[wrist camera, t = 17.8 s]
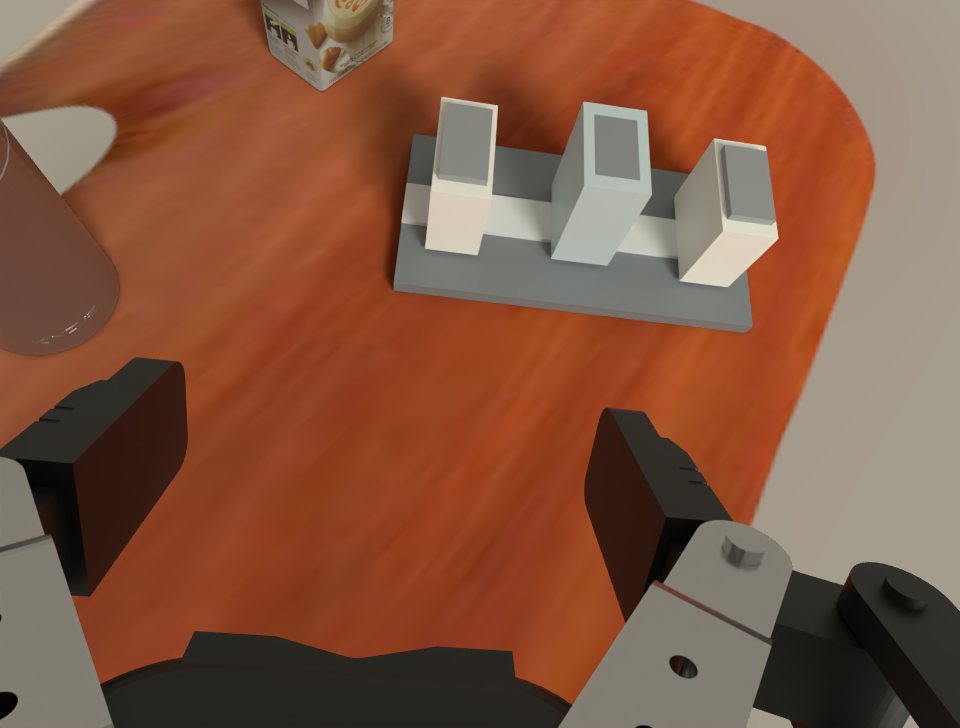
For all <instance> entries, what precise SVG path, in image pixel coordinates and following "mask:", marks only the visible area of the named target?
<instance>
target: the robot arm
mask: <svg viewBox="0 0 960 728" xmlns="http://www.w3.org/2000/svg"><path fill="white" fill-rule="evenodd" d="M119 287H120V286H119V279H118V274H117V272H116V269H115V267H114V265H113V263H112V262H111V261H110V259H109V258H108V257H107V255H106V254H105V253H104V252H103V250H102V249H101V248H100V246H99V245H98V244H97V242H96V241H95V240H94V239H93V237H92V236H91V235H90V233H89V232H88V231H87V229H86V228H85V227H84V225H83V224H82V223H81V221H80V220H79V219H78V218H77V216H76V215H75V214H74V213H73V211H72V210H71V209H70V207H69V206H68V205H67V204H66V202H65V201H64V200H63V198H62V197H61V196H60V195H59V193H58V192H57V191H56V190H55V188H54V187H53V186H52V184H51V183H50V182H49V181H48V180H47V178H46V177H45V176H44V174H43V173H42V172H41V170H40V169H39V168H38V167H37V165H36V164H35V163H34V162H33V160H32V159H31V158H30V156H29V155H28V154H27V153H26V152H25V150H24V149H23V147H22V146H21V145H20V144H19V142H18V141H17V140H16V139H15V137H14V136H13V135H12V134H11V132H10V131H9V130H8V128H7V127H6V126H5V125H4V123H3V122H2V121H1V119H0V348H2V349H4V350H5V351H8V352H12V353H16V354H20V355H33V356H39V355H47V354H54V353H58V352H61V351H64V350H68V349H70V348H72V347H74V346H76V345H78V344H80V343H83V342H84V341H85V340H87V339H88V338H90V337H91V336H92V335H94V334H95V333H96V332H97V331H98V330H99V329H100V328H101V327H102V326H103V325H104V324H105V323H106V322H107V320H108V319H109V317H110V316H111V314H112V312H113V311H114V308H115V306H116V303H117V300H118V295H119ZM187 441H188V432H187V410H186V388H185V373H184V368H183V366H182V364H181V363H180V362H176V361H166V360H157V359H147V358H138V357H136V358H134V359H132V360H131V361H130V362H129V363H127V364H126V365H125V366H124V367H123V368H122V369H120V370H119V371H118V372H117V373H116V374H115V375H113V376H112V377H111V378H110V379H109V380H99V381H97V382H94V383H92V384H90V385H87V386H85V387H82V388H80V389H77V390H75V391H73V392H71V393H70V394H69V395H68V396H66V397H65V398H64V399H63V400H61V401H60V402H59V403H58V404H56V405H55V408H54V409H50V410H49V411H48V412H46V413H45V414H44V415H43V416H41V417H40V418H39V422H37V421H35V422H34V423H33V424H31V425H30V426H29V427H28V428H26V429H25V430H24V431H23V432H21V433H20V434H19V435H18V436H16V437H15V438H14V439H13V440H11V441H10V442H9V443H8V444H6V445H5V446H4V447H3V448H1V449H0V728H746V725H747V722H748V718H749V716H750V712H751V709H752V707H754V708H756V709H759V710H762V711H766V712H768V713H771V714H774V715H777V716H780V717H783V718H786V719H789V720H790V721H791V724H792V726H793V728H903V726H904V724H905V722H906V721H907V719H908V717H909V715H911V716H912V718H913V719H914V721H915V722H916V723H917V725H918V726H919V728H960V611H959V610H958V609H957V608H956V607H955V606H954V604H953V603H952V602H951V601H950V600H949V599H948V598H947V597H946V596H945V595H943V594H942V593H941V592H940V591H939V590H937V589H936V588H935V587H933V586H932V585H930V584H929V583H927V582H926V581H924V580H922V579H921V578H919V577H917V576H915V575H913V574H911V573H909V572H906V571H904V570H902V569H899V568H896V567H893V566H889V565H886V564H881V563H874V562H866V563H860V564H857V565H855V566H854V567H853V568H852V570H851V571H850V573H849V576H848V578H847V580H846V582H845V584H844V585H840V584H837V583H833V582H829V581H826V580H823V579H820V578H816V577H813V576H809V575H806V574H802V573H800V572H796V571H793V570H792V562H791V559H790V557H789V555H788V554H787V553H786V551H785V550H784V549H783V548H782V547H781V546H780V545H779V544H778V543H777V542H776V541H774V540H773V539H772V538H770V537H769V536H767V535H765V534H763V533H762V532H760V531H758V530H756V529H754V528H752V527H749V526H747V525H744V524H741V523H737V522H733V520H732V519H731V517H730V516H729V514H728V513H727V511H726V510H725V508H724V507H723V505H722V504H721V502H720V501H719V499H718V498H717V496H716V495H715V493H714V492H713V490H712V489H711V487H710V486H708V485H707V482H706V480H705V479H704V477H703V476H702V474H701V473H700V472H698V468H697V467H696V465H695V464H694V462H693V461H692V459H691V458H690V456H689V455H688V453H687V452H685V451H684V450H683V449H681V448H680V447H679V446H678V445H676V444H675V443H674V442H672V441H671V440H670V439H668V438H662V437H660V436H659V434H658V433H657V431H656V430H655V428H654V426H653V425H652V423H651V422H650V420H649V418H648V417H647V415H646V414H645V412H643V411H634V410H625V409H615V408H605V409H604V410H603V412H602V414H601V416H600V419H599V423H598V427H597V431H596V436H595V440H594V444H593V448H592V452H591V456H590V460H589V464H588V469H587V473H586V478H585V487H584V496H585V504H586V508H587V511H588V514H589V517H590V520H591V523H592V526H593V529H594V532H595V535H596V538H597V541H598V544H599V546H600V549H601V552H602V555H603V558H604V561H605V564H606V567H607V570H608V573H609V576H610V579H611V582H612V585H613V588H614V591H615V594H616V596H617V599H618V602H619V605H620V608H621V611H622V614H623V617H624V620H625V623H626V624H625V626H624V627H623V629H622V630H621V632H620V633H619V635H618V636H617V638H616V639H615V641H614V643H613V644H612V646H611V647H610V649H609V650H608V652H607V653H606V655H605V656H604V658H603V659H602V661H601V662H600V664H599V666H598V667H597V669H596V670H595V672H594V673H593V675H592V676H591V678H590V679H589V681H588V682H587V684H586V685H585V687H584V689H583V690H582V692H581V693H580V695H579V696H578V698H577V699H576V701H575V702H574V704H573V705H571V704H570V703H568V702H567V701H565V700H564V699H563V698H561V697H560V696H558V695H556V694H554V693H552V692H550V691H549V690H547V689H545V688H543V687H541V686H538V685H536V684H534V683H531V682H529V681H526V680H523V679H520V678H517V677H515V671H514V662H513V654H512V651H499V650H483V649H467V648H452V647H431V648H425V649H418V650H411V651H405V652H398V653H392V654H385V655H379V656H372V657H366V658H350V657H345V656H342V655H338V654H335V653H331V652H328V651H325V650H321V649H318V648H314V647H311V646H307V645H304V644H300V643H297V642H294V641H290V640H287V639H283V638H280V637H276V636H263V635H247V634H231V633H215V632H200V631H195V632H194V634H193V636H192V638H191V640H190V642H189V645H188V647H187V649H186V651H185V653H184V655H183V657H182V658H177V659H171V660H166V661H162V662H158V663H154V664H150V665H147V666H144V667H141V668H138V669H135V670H132V671H129V672H127V673H124V674H122V675H120V676H117V677H115V678H113V679H110V680H108V681H106V682H104V683H102V684H100V683H99V680H98V677H97V674H96V671H95V668H94V665H93V662H92V659H91V655H90V652H89V649H88V646H87V643H86V640H85V637H84V634H83V631H82V628H81V625H80V622H79V619H78V615H77V612H76V609H75V606H74V603H73V600H72V597H71V595H74V596H89V597H90V596H91V594H92V593H93V592H94V590H95V589H96V587H97V586H98V585H99V583H100V582H101V580H102V579H103V577H104V576H105V575H106V573H107V572H108V570H109V569H110V568H111V566H112V565H113V563H114V562H115V560H116V559H117V558H118V556H119V555H120V553H121V552H122V551H123V549H124V548H125V546H126V545H127V544H128V542H129V541H130V539H131V538H132V536H133V535H134V534H135V532H136V531H137V529H138V528H139V527H140V525H141V524H142V522H143V521H144V519H145V518H146V517H147V515H148V514H149V512H150V511H151V510H152V508H153V507H154V505H155V504H156V502H157V501H158V500H159V498H160V497H161V495H162V494H163V493H164V491H165V490H166V488H167V487H168V485H169V484H170V483H171V481H172V480H173V478H174V477H175V476H176V474H177V473H178V471H179V470H180V468H181V466H182V464H183V461H184V458H185V454H186V449H187Z"/></svg>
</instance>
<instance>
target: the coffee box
mask: <svg viewBox="0 0 960 728" xmlns="http://www.w3.org/2000/svg"><path fill="white" fill-rule="evenodd" d="M260 1H261V7H262V12H263V17H264V22H265V28H266V33H267V38H268V43H269V49H270V53H271V54H272V55H273V56H274V57H275V58H277V59H278V60H279V61H281V62H282V63H283V64H284V65H286V66H287V67H288V68H290V69H291V70H292V71H294V72H295V73H296V74H298V75H299V76H300V77H302V78H303V79H304V80H306V81H307V82H308V83H310V84H311V85H312V86H314V87H315V88H316V89H318V90H319V91H324V90H325V89H327V88H328V87H330V86H331V85H332V84H334V83H335V82H337V81H338V80H339V79H341V78H342V77H344V76H345V75H346V74H348V73H349V72H351V71H352V70H353V69H355V68H356V67H358V66H359V65H360V64H362V63H363V62H365V61H366V60H367V59H369V58H370V57H372V56H373V55H374V54H376V53H377V52H379V51H380V50H381V49H383V48H384V47H386V46H387V45H388V44H390V43H391V42H392V41H393V0H260Z"/></svg>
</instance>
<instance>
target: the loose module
mask: <svg viewBox="0 0 960 728" xmlns="http://www.w3.org/2000/svg"><path fill="white" fill-rule="evenodd" d="M651 196H652V187H651V170H650V153H649V136H648V119H647V111H644V110H637V109H630V108H623V107H617V106H610V105H603V104H596V103H590V102H583V104H582V107H581V109H580V112H579V115H578V117H577V120H576V122H575V125H574V128H573V130H572V133H571V136H570V138H569V141H568V143H567V146H566V149H565V151H564V154H563V157H562V159H561V162H560V164H559V167H558V170H557V172H556V175H555V178H554V180H553V183H552V206H551V259H555V260H564V261H572V262H580V263H588V264H597V265H605V266H607V265H608V264H609V262H610V261H611V259H612V258H613V256H614V254H615V253H616V251H617V250H618V248H619V246H620V245H621V243H622V242H623V240H624V238H625V237H626V235H627V234H628V232H629V231H630V229H631V227H632V226H633V224H634V223H635V221H636V219H637V218H638V216H639V215H640V213H641V211H642V210H643V208H644V207H645V205H646V203H647V202H648V200H649V199H650V197H651Z"/></svg>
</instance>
